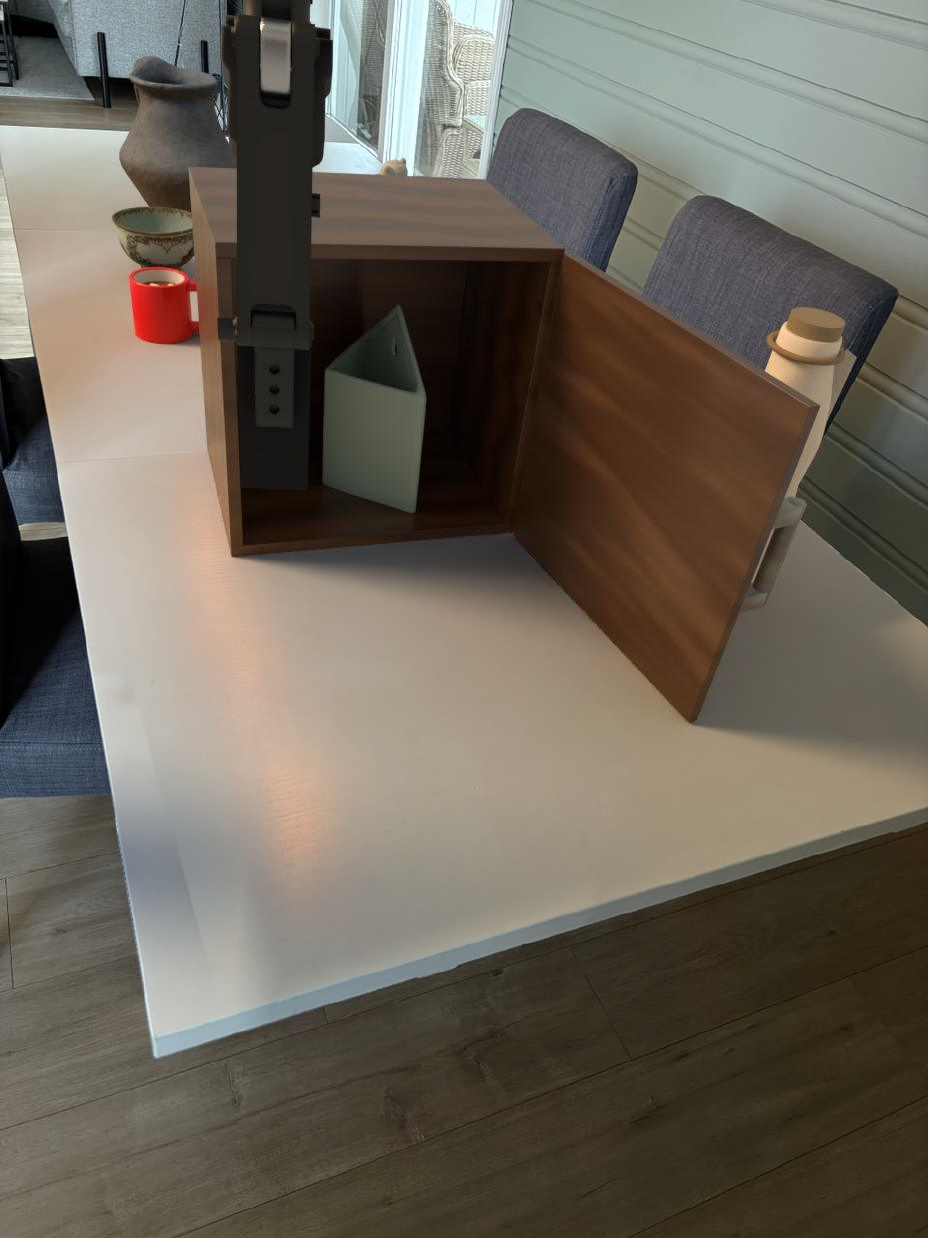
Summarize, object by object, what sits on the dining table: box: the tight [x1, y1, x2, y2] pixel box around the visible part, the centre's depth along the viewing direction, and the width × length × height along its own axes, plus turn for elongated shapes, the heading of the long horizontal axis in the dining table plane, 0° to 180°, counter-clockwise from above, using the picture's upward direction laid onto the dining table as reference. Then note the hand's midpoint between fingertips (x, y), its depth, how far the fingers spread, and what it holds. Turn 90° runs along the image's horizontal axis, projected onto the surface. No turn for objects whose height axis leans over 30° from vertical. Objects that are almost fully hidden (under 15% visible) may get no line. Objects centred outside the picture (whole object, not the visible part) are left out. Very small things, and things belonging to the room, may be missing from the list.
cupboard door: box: [512, 252, 820, 723], centre depth 82 cm, size 7×30×30 cm, turn 28°
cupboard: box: [189, 167, 566, 557], centre depth 94 cm, size 22×30×30 cm
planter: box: [322, 304, 426, 513], centre depth 96 cm, size 16×8×20 cm, turn 25°
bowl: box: [111, 206, 195, 272], centre depth 146 cm, size 14×13×8 cm
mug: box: [128, 267, 200, 345], centre depth 128 cm, size 8×12×8 cm, turn 102°
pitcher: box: [118, 55, 237, 213], centre depth 161 cm, size 21×22×25 cm
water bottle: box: [751, 306, 858, 583], centre depth 91 cm, size 10×9×28 cm
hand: (277, 409), depth 43 cm, fingers open, 13 cm apart
